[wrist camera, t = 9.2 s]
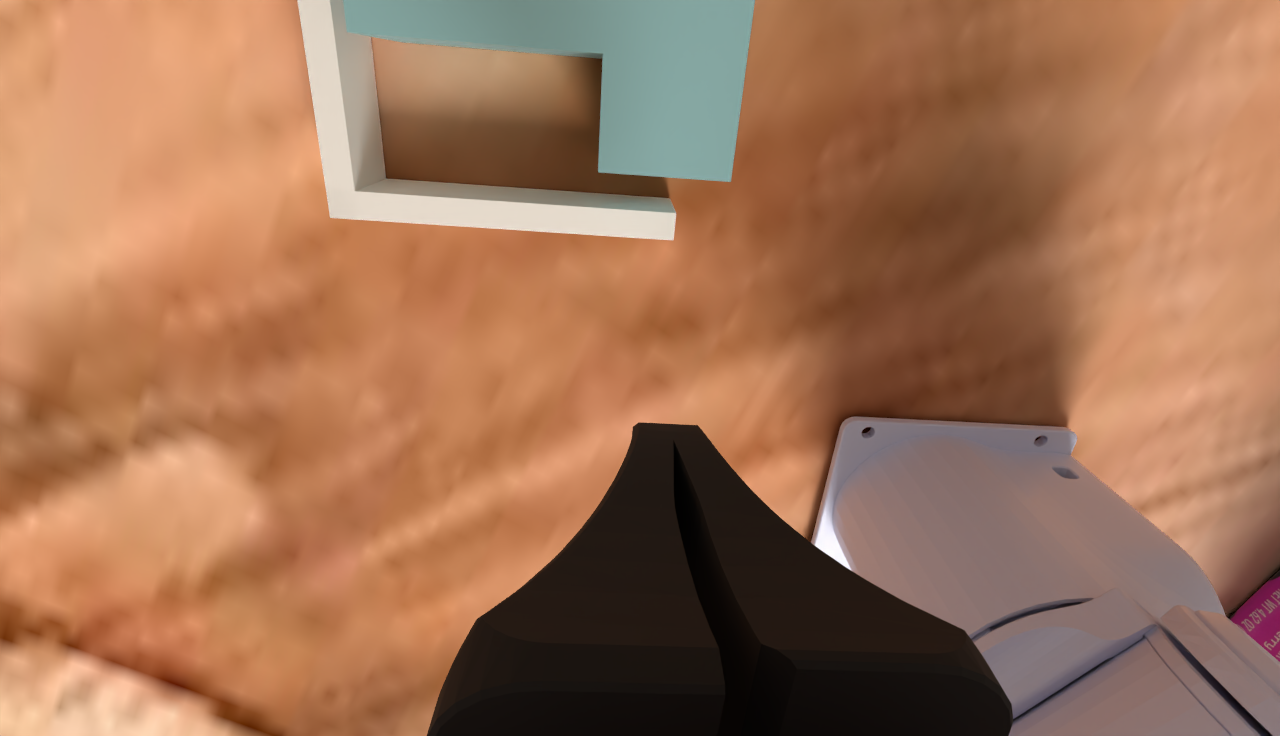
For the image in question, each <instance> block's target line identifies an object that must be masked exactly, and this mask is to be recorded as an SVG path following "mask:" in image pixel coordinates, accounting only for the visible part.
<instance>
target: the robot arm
mask: <svg viewBox="0 0 1280 736" xmlns="http://www.w3.org/2000/svg"><path fill="white" fill-rule="evenodd" d="M866 427H871V429H870V431H868V432H867V433H862V431H863V429H865V428H866ZM1039 436H1041V437H1040V438H1039V439H1038V440H1036V441H1035V439H1036V438H1037V437H1039ZM1076 441H1077V435H1076V434H1075V433H1074V432H1073V431H1071V430H1070V429H1069V428H1066V427H1055V426H1035V425H1015V424H995V423H975V422H955V421H935V420H915V419H896V418H876V417H856V416H855V417H850V418H848V419H846V420H845V421H843V422H842V424H841V426H840V430H839V434H838V438H837V442H836V445H835V449H834V453H833V457H832V461H831V465H830V469H829V473H828V477H827V481H826V485H825V489H824V493H823V497H822V501H821V505H820V509H819V513H818V517H817V521H816V525H815V529H814V532H813V536H812V540H811V542H809V541H808V540H807V539H805V538H804V537H803V536H802V535H800V534H799V533H798V532H797V531H796V530H794V529H793V528H792V527H791V526H789V525H788V524H787V523H786V522H785V521H783V520H782V519H781V518H780V517H779V516H778V515H777V514H775V513H774V512H773V511H772V510H771V509H770V508H769V507H768V506H767V505H766V504H765V503H764V502H763V501H762V500H761V499H760V498H759V497H758V496H757V495H756V494H755V493H754V492H753V491H752V490H751V489H750V488H749V487H748V486H747V485H746V484H745V483H744V481H743V480H742V479H741V478H740V477H739V476H738V475H737V473H736V472H735V471H734V470H733V469H732V468H731V467H730V465H729V464H728V463H727V462H726V460H725V459H724V458H723V457H722V456H721V454H720V453H719V452H718V451H717V449H716V448H715V447H714V445H713V444H712V443H711V441H710V440H709V439H708V438H707V436H706V435H705V434H704V432H703V431H702V430H701V429H700V428H699V426H698V425H679V424H658V423H638V424H636V425H635V426H634V427H633V432H632V440H631V443H630V446H629V449H628V452H627V454H626V457H625V459H624V461H623V463H622V465H621V467H620V469H619V472H618V474H617V476H616V478H615V479H614V481H613V483H612V484H611V486H610V488H609V489H608V491H607V493H606V494H605V496H604V498H603V499H602V501H601V502H600V504H599V505H598V507H597V508H596V510H595V511H594V512H593V514H592V515H591V517H590V518H589V519H588V520H587V522H586V523H585V524H584V526H583V527H582V528H581V529H580V531H579V532H578V533H577V534H576V535H575V536H574V537H573V539H572V540H571V541H570V542H569V543H568V544H567V545H566V546H565V548H564V549H563V550H562V551H561V552H560V553H559V554H558V555H557V556H556V557H555V558H554V559H553V560H552V561H551V562H550V563H548V564H547V565H546V566H545V567H544V568H543V569H542V570H541V571H539V572H538V573H537V574H536V575H535V576H534V577H533V578H532V579H530V580H529V581H528V582H527V583H526V584H525V585H524V586H522V587H521V588H520V589H519V590H517V591H516V592H515V593H513V594H512V595H511V596H509V597H508V598H506V599H505V600H504V601H502V602H501V603H499V604H498V605H497V606H495V607H494V608H492V609H491V610H490V611H488V612H487V613H485V614H484V615H482V616H481V617H479V618H478V619H477V620H476V622H475V623H474V625H473V627H472V628H471V630H470V632H469V634H468V636H467V637H466V639H465V641H464V643H463V644H462V646H461V648H460V650H459V652H458V654H457V656H456V658H455V660H454V662H453V664H452V666H451V668H450V671H449V673H448V675H447V677H446V680H445V682H444V684H443V687H442V689H441V692H440V694H439V697H438V701H437V704H436V707H435V710H434V714H433V717H432V720H431V724H430V727H429V730H428V734H427V736H1280V662H1279V661H1278V660H1277V659H1276V658H1275V657H1273V656H1272V655H1271V654H1270V653H1269V652H1268V651H1266V650H1265V649H1264V648H1263V647H1262V646H1261V645H1259V644H1258V643H1257V642H1256V641H1255V640H1254V639H1252V638H1251V637H1250V636H1249V635H1248V634H1246V633H1245V632H1244V631H1243V630H1242V629H1241V628H1239V627H1238V626H1237V625H1236V624H1235V623H1233V622H1232V621H1231V620H1230V619H1228V618H1227V617H1226V615H1225V613H1224V610H1223V607H1222V605H1221V602H1220V600H1219V598H1218V596H1217V594H1216V592H1215V590H1214V588H1213V586H1212V584H1211V583H1210V581H1209V580H1208V578H1207V577H1206V575H1205V574H1204V572H1203V571H1202V569H1201V568H1200V567H1199V566H1198V564H1197V563H1196V562H1195V561H1194V560H1193V558H1192V557H1191V556H1190V555H1189V554H1188V553H1187V552H1186V551H1185V550H1183V549H1182V548H1181V547H1180V546H1179V545H1178V544H1176V543H1175V542H1174V541H1173V540H1172V539H1170V538H1169V537H1168V536H1167V535H1166V534H1164V533H1163V532H1162V531H1161V530H1160V529H1158V528H1157V527H1156V526H1155V525H1154V524H1152V523H1151V522H1150V521H1149V520H1148V519H1146V518H1145V517H1144V516H1143V515H1142V514H1140V513H1139V512H1138V511H1137V510H1136V509H1134V508H1133V507H1132V506H1131V505H1130V504H1128V503H1127V502H1126V501H1125V500H1124V499H1122V498H1121V497H1120V496H1119V495H1118V494H1116V493H1115V492H1114V491H1113V490H1112V489H1110V488H1109V487H1108V486H1107V485H1106V484H1104V483H1103V482H1102V481H1101V480H1100V479H1098V478H1097V477H1096V476H1095V475H1094V474H1092V473H1091V472H1090V471H1089V470H1088V469H1086V468H1085V467H1084V466H1083V465H1082V464H1080V463H1079V462H1078V461H1077V460H1076V459H1074V458H1073V457H1072V456H1071V453H1072V451H1073V448H1074V446H1075V444H1076Z"/></svg>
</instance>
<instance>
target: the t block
mask: <svg viewBox="0 0 1280 736" xmlns="http://www.w3.org/2000/svg"><path fill="white" fill-rule="evenodd" d="M343 4H344V12H345V21H346V29H347V32H349V33H354V34H360V35H365V36H371V37H376V38H381V39H387V40H392V41H398V42H404V43H416V44H428V45H440V46H452V47H465V48H477V49H489V50H501V51H513V52H525V53H537V54H550V55H562V56H574V57H586V58H598V59H602V84H601V109H600V134H599V159H598V172H600V173H614V174H628V175H642V176H656V177H670V178H684V179H698V180H712V181H726V182H731V176H732V169H733V161H734V154H735V146H736V139H737V131H738V124H739V116H740V109H741V101H742V94H743V86H744V79H745V71H746V64H747V56H748V49H749V41H750V34H751V26H752V19H753V11H754V4H755V0H343Z"/></svg>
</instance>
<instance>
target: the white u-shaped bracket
mask: <svg viewBox="0 0 1280 736" xmlns="http://www.w3.org/2000/svg"><path fill="white" fill-rule="evenodd" d="M297 1H298V7H299V14H300V21H301V27H302V34H303V41H304V47H305V54H306V61H307V67H308V74H309V80H310V87H311V94H312V100H313V107H314V114H315V120H316V127H317V134H318V140H319V147H320V154H321V160H322V167H323V173H324V180H325V187H326V193H327V200H328V207H329V213H330V218H341V219H357V220H372V221H387V222H402V223H417V224H433V225H448V226H463V227H478V228H493V229H509V230H524V231H539V232H554V233H569V234H585V235H600V236H615V237H630V238H646V239H661V240H674V230H675V220H676V212H675V209H674V207H673V204H672V202H671V200H670V198H659V197H645V196H631V195H616V194H602V193H588V192H573V191H559V190H545V189H530V188H516V187H501V186H487V185H473V184H458V183H444V182H430V181H415V180H401V179H387V178H386V172H385V163H384V154H383V144H382V135H381V126H380V116H379V107H378V98H377V88H376V79H375V70H374V60H373V51H372V42H371V36H365V35H360V34H354V33H349V32H347V29H346V21H345V12H344V4H343V0H297Z"/></svg>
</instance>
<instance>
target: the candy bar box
mask: <svg viewBox="0 0 1280 736" xmlns="http://www.w3.org/2000/svg"><path fill="white" fill-rule="evenodd" d="M1228 619H1230V620H1231V621H1232V622H1233V623H1235V624H1236V625H1237V626H1238V627H1239V628H1241V629H1242V630H1243V631H1244V632H1245V633H1246V634H1248V635H1249V636H1250V637H1251V638H1252V639H1254V640H1255V641H1256V642H1257V643H1258V644H1259V645H1261V646H1262V647H1263V648H1264V649H1265V650H1266V651H1268V652H1269V653H1270V654H1271V655H1272V656H1273V657H1275V658H1276V659H1277V660H1278V661H1279V662H1280V570H1279V571H1278V572H1277V573H1276V574H1275V575H1274V576H1273V577H1271V578H1270V579H1269V580H1268V581H1267V582H1266V583H1265V584H1264V585H1263V586H1262V587H1261V588H1260V589H1259V590H1258V591H1257V592H1256V593H1255V594H1254V595H1253V596H1251V597H1250V598H1249V599H1248V600H1247V601H1246V602H1245V603H1244V604H1243V605H1242V606H1241V607H1240V608H1239V609H1238V610H1237V611H1236V612H1235V613H1234V614H1233V615H1232V616H1231V617H1230V618H1228Z"/></svg>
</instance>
